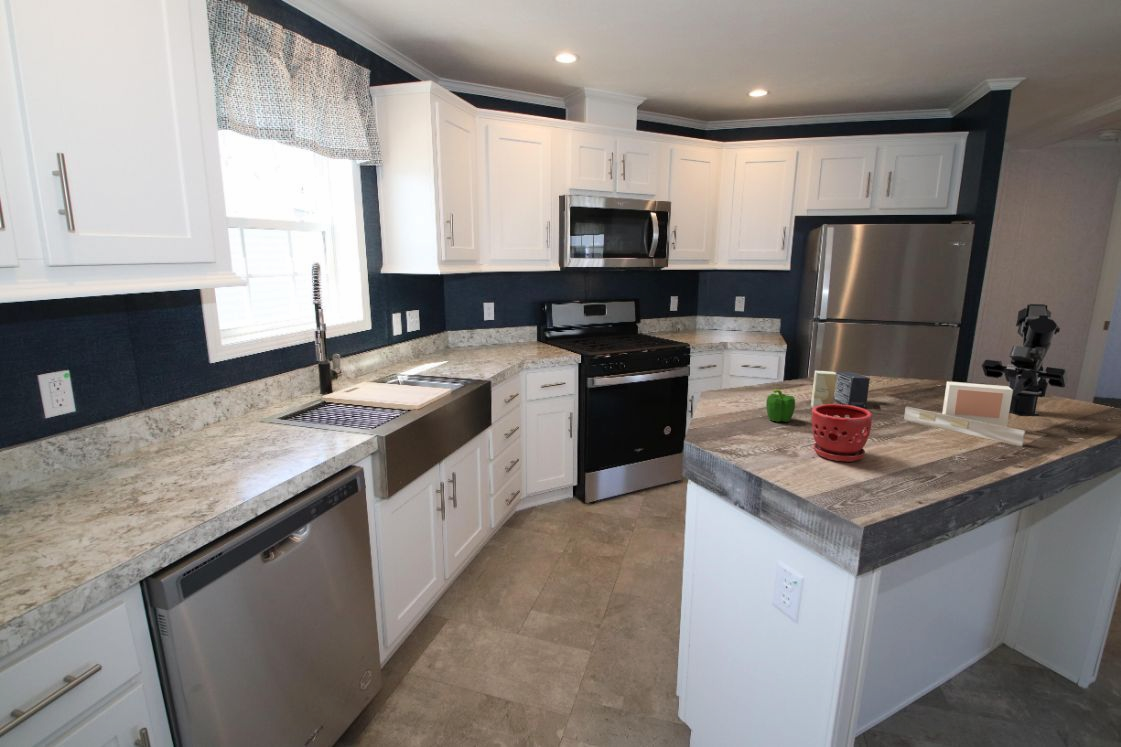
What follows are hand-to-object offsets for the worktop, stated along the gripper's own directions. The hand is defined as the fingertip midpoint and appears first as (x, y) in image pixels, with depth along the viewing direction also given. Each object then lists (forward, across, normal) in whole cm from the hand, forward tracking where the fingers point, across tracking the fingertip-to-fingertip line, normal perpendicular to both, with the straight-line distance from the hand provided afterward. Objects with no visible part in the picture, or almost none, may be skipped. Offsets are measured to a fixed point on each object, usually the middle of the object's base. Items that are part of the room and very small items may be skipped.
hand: (1011, 395), depth 152 cm
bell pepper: (+41, -41, -26) cm, 64 cm away
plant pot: (+52, -14, -37) cm, 65 cm away
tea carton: (+14, -4, -2) cm, 15 cm away
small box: (+14, -40, 0) cm, 43 cm away
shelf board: (+15, -4, -1) cm, 16 cm away
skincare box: (+23, -43, -9) cm, 49 cm away
